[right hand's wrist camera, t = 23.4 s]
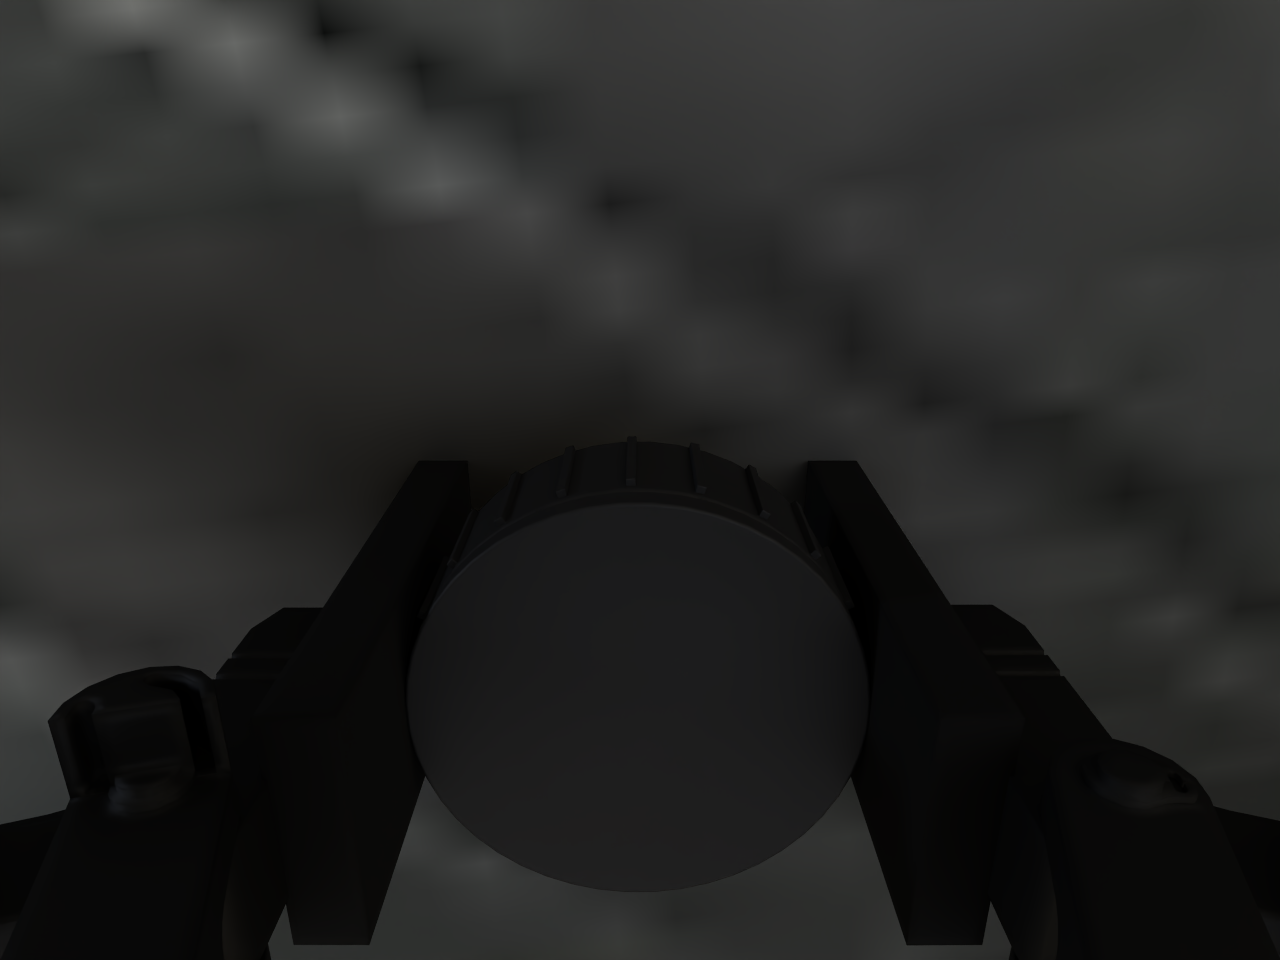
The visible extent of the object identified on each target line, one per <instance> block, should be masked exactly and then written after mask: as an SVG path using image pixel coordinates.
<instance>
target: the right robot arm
mask: <svg viewBox="0 0 1280 960" xmlns="http://www.w3.org/2000/svg"><path fill="white" fill-rule="evenodd" d="M470 512H471V502H470V489H469V476H468V463H467V461H419V462H418V463H417V465H416V466H415V468H414V469H413V471H412V473H411V474H410V476H409V477H408V479H407V480H406V482H405V483H404V485H403V486H402V488H401V489H400V491H399V492H398V494H397V495H396V497H395V498H394V500H393V502H392V503H391V505H390V506H389V508H388V509H387V511H386V512H385V514H384V515H383V517H382V518H381V520H380V521H379V523H378V524H377V526H376V528H375V529H374V531H373V532H372V534H371V535H370V537H369V538H368V540H367V541H366V543H365V544H364V546H363V547H362V549H361V550H360V552H359V554H358V555H357V557H356V558H355V560H354V561H353V563H352V564H351V566H350V567H349V569H348V570H347V572H346V573H345V575H344V576H343V578H342V580H341V581H340V583H339V584H338V586H337V587H336V589H335V590H334V592H333V593H332V595H331V596H330V598H329V599H328V601H327V602H326V604H325V605H324V607H323V608H282V609H281V610H279V611H278V612H276V613H275V614H273V615H272V616H270V617H269V618H267V619H266V620H264V621H262V622H261V623H259V624H258V625H256V626H255V627H253V628H252V629H251V630H250V631H249V632H248V634H247V635H246V636H245V638H244V639H243V640H242V641H241V643H240V644H239V645H238V647H237V648H236V649H235V651H234V652H233V653H232V659H228V660H227V661H226V662H225V664H224V665H223V666H222V667H221V669H220V670H219V671H218V673H217V674H216V679H211V678H209V677H208V676H207V675H206V674H204V673H203V672H202V671H200V670H195V669H190V668H186V667H181V666H164V667H148V668H144V669H139V670H135V671H131V672H126V673H122V674H118V675H115V676H113V677H111V678H108V679H106V680H103V681H101V682H98V683H96V684H93V685H91V686H89V687H87V688H85V689H84V690H82V691H81V692H79V693H78V694H76V695H75V696H73V697H72V698H70V699H69V700H67V701H65V702H64V703H63V704H62V705H61V706H60V707H59V708H58V710H57V711H56V712H55V713H54V714H53V715H52V717H51V718H50V719H49V720H48V724H49V727H50V731H51V734H52V737H53V741H54V744H55V748H56V751H57V754H58V758H59V761H60V765H61V768H62V772H63V775H64V778H65V782H66V785H67V789H68V792H69V796H70V801H69V803H68V805H67V808H66V810H62V811H59V812H55V813H52V814H48V815H43V816H39V817H34V818H29V819H24V820H20V821H15V822H10V823H6V824H1V825H0V960H271V956H270V951H269V946H268V942H269V940H270V937H271V935H272V933H273V931H274V929H275V926H276V924H277V922H278V920H279V918H280V915H281V913H282V911H283V909H284V907H285V904H286V907H287V912H288V917H289V922H290V927H291V933H292V938H293V943H294V945H369V944H370V941H371V938H372V935H373V932H374V929H375V926H376V923H377V920H378V917H379V914H380V911H381V908H382V905H383V902H384V899H385V896H386V893H387V890H388V887H389V884H390V881H391V878H392V875H393V872H394V869H395V866H396V863H397V860H398V856H399V853H400V850H401V847H402V844H403V841H404V838H405V835H406V832H407V829H408V826H409V823H410V820H411V817H412V814H413V811H414V808H415V805H416V802H417V799H418V796H419V793H420V790H421V787H422V784H423V781H424V778H425V773H424V771H423V769H422V767H421V765H420V762H419V760H418V758H417V756H416V753H415V749H414V746H413V742H412V739H411V735H410V732H409V728H408V720H407V712H406V702H405V701H406V676H407V671H408V666H409V661H410V655H411V651H412V648H413V646H414V643H415V640H416V637H417V634H418V632H419V629H420V626H421V624H422V622H423V620H422V619H420V618H417V616H418V614H419V611H420V609H421V607H422V604H423V602H424V600H425V598H426V595H427V593H428V591H429V589H430V587H431V584H432V582H433V580H434V578H435V576H436V573H437V571H438V569H439V567H440V565H441V562H442V560H443V558H444V556H447V557H450V556H451V554H452V551H453V549H454V547H455V544H456V542H457V540H458V538H459V535H460V533H461V531H462V528H463V526H464V524H465V522H466V519H467V517H468V515H469V513H470ZM804 515H805V517H806V519H807V522H808V524H809V526H810V528H811V530H812V531H813V533H814V535H815V537H816V538H817V540H818V542H819V544H820V545H821V547H822V548H824V547H826V546H828V547H829V549H830V551H831V553H832V556H833V558H834V560H835V563H836V565H837V567H838V569H839V572H840V574H841V576H842V578H843V581H844V583H845V585H846V588H847V590H848V592H849V594H850V597H851V599H852V601H853V603H854V606H855V607H853V608H851V609H848V611H849V613H850V615H851V617H852V620H853V622H854V625H855V627H856V630H857V632H858V635H859V637H860V640H861V642H862V645H863V648H864V651H865V656H866V661H867V665H868V670H869V675H870V692H871V703H870V713H869V723H868V729H867V733H866V737H865V740H864V744H863V748H862V752H861V754H860V756H859V759H858V761H857V763H856V766H855V768H854V770H853V773H852V775H851V778H852V781H853V784H854V787H855V790H856V793H857V796H858V799H859V802H860V805H861V808H862V811H863V814H864V817H865V820H866V823H867V826H868V829H869V832H870V835H871V838H872V841H873V844H874V848H875V851H876V854H877V857H878V860H879V863H880V866H881V869H882V872H883V875H884V878H885V881H886V884H887V887H888V890H889V893H890V896H891V899H892V902H893V905H894V908H895V911H896V914H897V917H898V920H899V923H900V926H901V929H902V932H903V935H904V938H905V941H906V944H907V945H982V943H983V938H984V933H985V928H986V922H987V917H988V912H989V906H990V901H991V902H992V905H993V907H994V909H995V911H996V913H997V915H998V918H999V920H1000V922H1001V924H1002V926H1003V929H1004V931H1005V933H1006V935H1007V937H1008V940H1009V942H1010V944H1011V951H1010V956H1009V960H1280V821H1277V820H1272V819H1268V818H1263V817H1258V816H1253V815H1248V814H1244V813H1239V812H1234V811H1229V810H1225V809H1222V808H1218V807H1214V806H1213V804H1212V801H1211V799H1210V797H1209V796H1208V794H1207V793H1206V792H1205V790H1204V789H1203V787H1202V786H1201V785H1200V783H1199V782H1198V781H1197V779H1196V778H1195V777H1194V776H1192V775H1191V774H1190V773H1188V772H1187V771H1186V770H1184V769H1183V768H1182V767H1180V766H1179V765H1178V764H1176V763H1175V762H1174V761H1172V760H1171V759H1168V758H1166V757H1164V756H1162V755H1160V754H1158V753H1156V752H1154V751H1151V750H1149V749H1147V748H1145V747H1143V746H1139V745H1135V744H1131V743H1127V742H1123V741H1119V740H1116V739H1112V738H1111V736H1110V735H1109V734H1108V732H1107V731H1106V730H1105V729H1104V727H1103V726H1102V725H1101V723H1100V722H1099V721H1098V720H1097V718H1096V717H1095V716H1094V714H1093V713H1092V712H1091V710H1090V709H1089V708H1088V707H1087V705H1086V704H1085V703H1084V701H1083V700H1082V699H1081V698H1080V696H1079V695H1078V694H1077V692H1076V691H1075V690H1074V689H1073V687H1072V686H1071V685H1070V683H1069V682H1068V681H1067V679H1066V678H1065V677H1064V676H1060V670H1059V669H1058V668H1057V667H1056V665H1055V664H1054V663H1053V661H1052V660H1051V659H1050V658H1049V656H1048V655H1044V650H1043V648H1042V647H1041V646H1040V645H1039V643H1038V642H1037V641H1036V639H1035V638H1034V637H1033V636H1032V634H1031V633H1030V632H1029V630H1028V629H1027V628H1026V627H1025V626H1024V625H1023V624H1021V623H1020V622H1018V621H1017V620H1015V619H1014V618H1012V617H1011V616H1009V615H1007V614H1006V613H1004V612H1003V611H1001V610H1000V609H998V608H997V607H995V606H994V605H950V603H949V602H948V600H947V599H946V597H945V596H944V594H943V592H942V591H941V589H940V588H939V586H938V585H937V583H936V582H935V580H934V579H933V577H932V576H931V574H930V573H929V571H928V570H927V568H926V566H925V565H924V563H923V562H922V560H921V559H920V557H919V556H918V554H917V553H916V551H915V550H914V548H913V547H912V545H911V544H910V542H909V540H908V539H907V537H906V536H905V534H904V533H903V531H902V530H901V528H900V527H899V525H898V524H897V522H896V521H895V519H894V518H893V516H892V514H891V513H890V511H889V510H888V508H887V507H886V505H885V504H884V502H883V501H882V499H881V498H880V496H879V495H878V493H877V492H876V490H875V488H874V487H873V485H872V484H871V482H870V481H869V479H868V478H867V476H866V475H865V473H864V472H863V470H862V469H861V467H860V466H859V464H858V462H857V461H808V471H807V485H806V498H805V512H804Z"/></svg>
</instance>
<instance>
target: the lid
mask: <svg viewBox="0 0 1280 960" xmlns="http://www.w3.org/2000/svg"><path fill="white" fill-rule="evenodd" d="M853 607H855V606H854V603H853V601H852V599H851V597H850V594H849V592H848V590H847V588H846V585H845V583H844V581H843V578H842V576H841V574H840V572H839V569H838V567H837V565H836V563H835V560H834V558H833V556H832V553H831V551H830V549H829V547H828V546H826V547H824V548H822V547H821V545H820V544H819V542H818V540H817V538H816V537H815V535H814V533H813V531H812V530H811V528H810V526H809V524H808V522H807V519H806V517H805V515H804V512H803V510H802V507H801V505H800V504H799V503H798V502H797V501H794V502H793V503H792V504H790V503H789V502H788V501H787V500H786V499H785V498H784V497H783V496H782V495H781V494H780V493H779V492H778V491H777V490H776V489H774V488H773V487H772V486H770V485H769V484H767V483H766V482H765V481H763V480H762V479H760V478H759V477H758V474H757V471H756V468H754V467H752V466H751V465H748V466H747V468H746V469H744V468H742V467H740V466H738V465H736V464H735V463H733V462H731V461H728V460H726V459H723V458H720V457H718V456H715V455H712V454H710V453H707V452H704V451H700V448H699V444H695V443H691V444H690V447H689V448H688V447H684V446H680V445H672V444H664V443H655V442H637V441H636V437H628V440H627V442H620V443H612V444H605V445H598V446H592V447H588V448H584V449H581V450H577V451H575V448H574V446H570V447H567V448H566V449H565V453H564V455H561V456H559V457H556V458H554V459H551V460H549V461H546V462H544V463H542V464H540V465H538V466H536V467H535V468H533V469H531V470H529V471H527V472H526V473H524V474H522V475H521V474H520V473H519V472H518V471H516V472H515V473H513V474H512V475H511V476H510V479H509V482H508V485H507V486H505V487H504V488H503V489H501V490H500V491H499V492H497V493H496V494H495V495H494V496H493V497H492V498H491V499H490V501H489V502H488V503H487V504H486V505H485V506H484V507H483V508H482V509H481V510H480V511H479V512H477V511H476V510H474V509H473V510H472V511H471V512H470V513H469V515H468V517H467V519H466V522H465V524H464V526H463V528H462V531H461V533H460V535H459V538H458V540H457V542H456V544H455V547H454V549H453V551H452V554H451V556H450V557H447V556H444V558H443V560H442V562H441V565H440V567H439V569H438V571H437V573H436V576H435V578H434V580H433V582H432V584H431V587H430V589H429V591H428V593H427V595H426V598H425V600H424V602H423V604H422V607H421V609H420V611H419V614H418V616H417V618H420V619H422V620H423V622H422V624H421V626H420V629H419V632H418V634H417V637H416V640H415V643H414V646H413V648H412V651H411V655H410V661H409V666H408V671H407V676H406V701H405V702H406V712H407V720H408V728H409V732H410V735H411V739H412V742H413V746H414V749H415V753H416V756H417V758H418V760H419V762H420V765H421V767H422V769H423V771H424V773H425V776H426V778H427V779H428V781H429V783H430V784H431V786H432V787H433V789H434V790H435V792H436V794H437V795H438V797H439V798H440V800H441V801H442V802H443V803H444V805H445V806H446V807H447V808H448V809H449V810H450V812H451V813H452V814H453V815H454V816H455V818H456V819H457V820H458V821H459V822H460V823H462V824H463V825H464V826H465V827H466V828H467V829H468V830H469V831H470V832H471V833H472V834H474V835H475V836H476V837H477V838H478V839H480V840H481V841H482V842H484V843H485V844H487V845H488V846H489V847H491V848H492V849H494V850H495V851H496V852H498V853H500V854H501V855H503V856H505V857H507V858H509V859H510V860H512V861H514V862H516V863H517V864H519V865H521V866H523V867H526V868H528V869H530V870H533V871H535V872H538V873H540V874H542V875H545V876H547V877H551V878H554V879H557V880H561V881H564V882H567V883H570V884H574V885H580V886H585V887H590V888H595V889H601V890H612V891H623V892H656V891H665V890H675V889H683V888H688V887H692V886H697V885H702V884H707V883H710V882H713V881H717V880H720V879H723V878H726V877H729V876H732V875H735V874H737V873H740V872H742V871H744V870H746V869H749V868H751V867H753V866H755V865H758V864H760V863H761V862H763V861H765V860H767V859H768V858H770V857H772V856H774V855H775V854H777V853H779V852H780V851H782V850H784V849H785V848H786V847H788V846H789V845H790V844H792V843H793V842H794V841H796V840H797V839H798V838H800V837H801V836H802V835H804V834H805V833H806V832H807V831H808V830H809V829H810V828H811V827H812V826H813V825H814V824H815V823H816V822H817V821H818V820H819V819H820V818H821V817H822V816H823V815H824V814H825V813H826V811H827V810H828V809H829V808H830V806H831V805H832V804H833V803H834V801H835V800H836V799H837V798H838V796H839V795H840V793H841V792H842V790H843V788H844V787H845V785H846V783H847V782H848V780H849V778H850V777H851V775H852V773H853V770H854V768H855V766H856V763H857V761H858V759H859V756H860V754H861V752H862V748H863V744H864V740H865V737H866V733H867V729H868V723H869V713H870V703H871V692H870V675H869V670H868V665H867V661H866V656H865V651H864V648H863V645H862V642H861V640H860V637H859V635H858V632H857V630H856V627H855V625H854V622H853V620H852V617H851V615H850V613H849V611H848V609H851V608H853Z"/></svg>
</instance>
